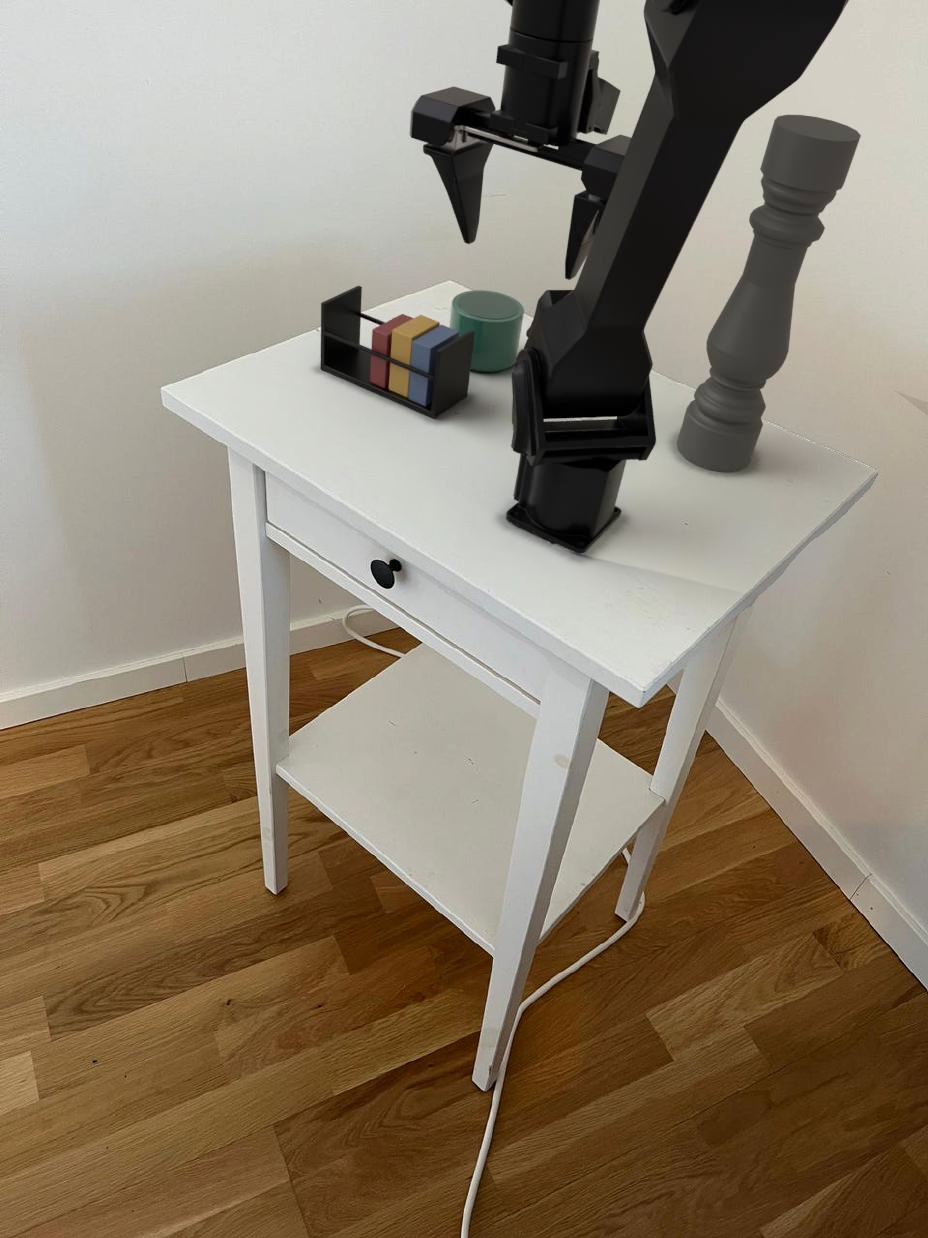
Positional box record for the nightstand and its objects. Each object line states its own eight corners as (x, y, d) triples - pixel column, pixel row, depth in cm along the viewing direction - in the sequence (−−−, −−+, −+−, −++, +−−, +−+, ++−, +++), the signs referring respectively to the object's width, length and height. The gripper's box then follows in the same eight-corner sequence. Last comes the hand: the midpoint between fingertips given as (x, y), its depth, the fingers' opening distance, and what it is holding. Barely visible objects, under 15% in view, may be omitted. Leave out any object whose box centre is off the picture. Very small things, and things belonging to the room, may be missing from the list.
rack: (467, 396, 84) (475, 330, 80) (433, 419, 80) (440, 351, 76) (356, 349, 88) (358, 284, 84) (319, 369, 85) (320, 302, 81)
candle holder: (673, 461, 79) (770, 130, 63) (679, 425, 84) (771, 107, 67) (749, 478, 79) (867, 148, 62) (751, 440, 83) (862, 124, 67)
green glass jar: (529, 357, 90) (537, 305, 87) (492, 382, 86) (499, 328, 83) (471, 334, 93) (477, 283, 89) (432, 357, 88) (437, 304, 85)
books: (453, 388, 84) (460, 329, 80) (425, 406, 81) (431, 345, 77) (398, 365, 86) (402, 306, 82) (369, 382, 83) (372, 322, 79)
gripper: (723, 48, 68) (669, 267, 78) (497, -8, 75) (474, 202, 85) (657, 70, 61) (606, 310, 71) (412, 7, 67) (399, 234, 78)
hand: (518, 259), depth 76 cm, fingers open, 9 cm apart
